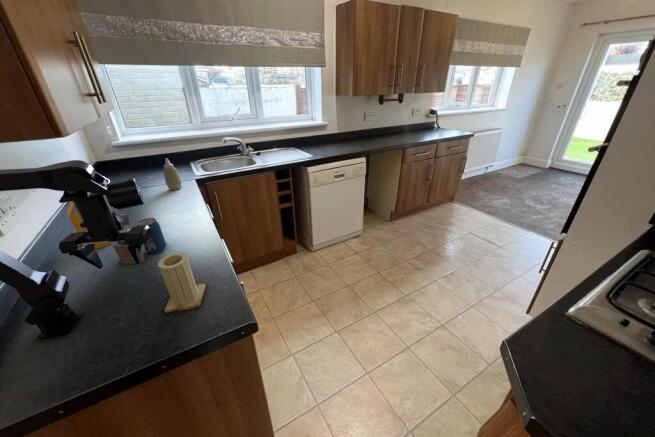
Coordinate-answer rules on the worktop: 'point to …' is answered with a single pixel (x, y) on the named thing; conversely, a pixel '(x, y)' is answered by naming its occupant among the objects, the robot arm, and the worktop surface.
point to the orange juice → (77, 220)
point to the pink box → (124, 252)
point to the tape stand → (194, 304)
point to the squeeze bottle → (171, 176)
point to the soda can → (153, 236)
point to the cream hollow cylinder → (178, 278)
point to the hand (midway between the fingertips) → (120, 265)
